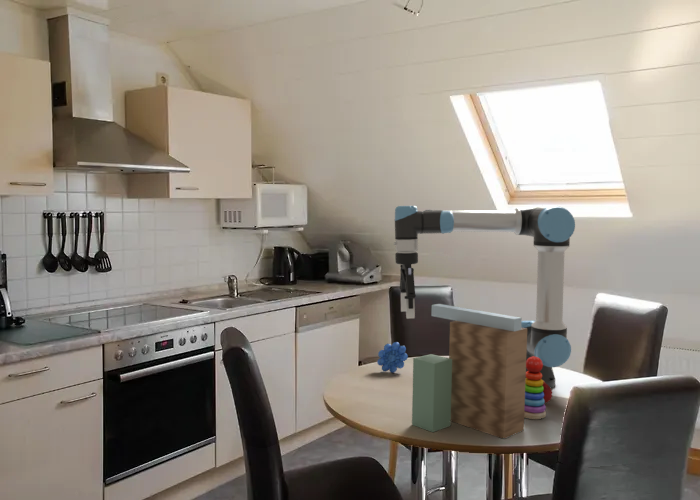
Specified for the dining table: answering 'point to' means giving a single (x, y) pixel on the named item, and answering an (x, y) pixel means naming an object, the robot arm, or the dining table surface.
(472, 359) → the stand
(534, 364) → the stacking toy
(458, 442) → the dining table surface
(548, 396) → the onion
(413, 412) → the post
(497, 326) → the rod
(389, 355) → the blue bumpy round piece
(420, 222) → the robot arm
